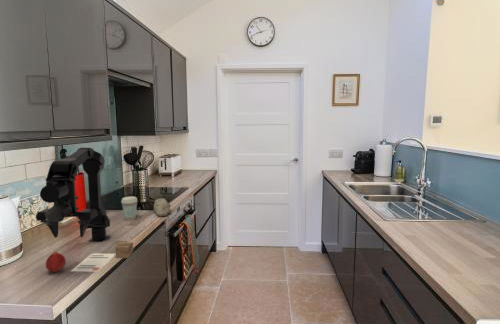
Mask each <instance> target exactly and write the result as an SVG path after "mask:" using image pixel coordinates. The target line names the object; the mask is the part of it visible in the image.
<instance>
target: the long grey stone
mask: <svg viewBox="0 0 500 324" xmlns="http://www.w3.org/2000/svg"><path fill="white" fill-rule="evenodd" d="M153 211H154V213H155V215H156V216H158V217H166V216H168V215H170V212H171V203H168V200H167V199H166V198H161V197H160V198H157V199H155V200H154V203H153Z"/></svg>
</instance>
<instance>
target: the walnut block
mask: <svg viewBox="0 0 500 324" xmlns="http://www.w3.org/2000/svg"><path fill="white" fill-rule="evenodd" d="M114 252H115V253H114V254H116V255H115V259H129V258H130V257H131V256H132V255H133V254H134V242H133V241H121V242H119V243H117V245H116V246H115V251H114Z"/></svg>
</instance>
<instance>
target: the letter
mask: <svg viewBox="0 0 500 324" xmlns="http://www.w3.org/2000/svg"><path fill="white" fill-rule="evenodd" d="M114 257H116V253H91V254H89V255H88V256H87V257H86V258H85V259H83V260H82V261H81V262H80V263H79V264H77V265H75V267H73V268H72V269H71V270H70V272H83V273H85V272H91V273H92V272H94V273H96V272H99V271H100V270H101V269H102V268H104V267H105V266H106V265H107V264H108V262H110V261H111V260H112V259H113V258H114Z"/></svg>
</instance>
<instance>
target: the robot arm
mask: <svg viewBox="0 0 500 324" xmlns="http://www.w3.org/2000/svg"><path fill="white" fill-rule="evenodd" d="M104 165H105V157H104V156H103V155H102V153H100V152H98V151H96V150H94V149H93V148H92V147H80V148H78V149H77V150H76V151H75V152H73V153H72V154H70V155H69V156H68V157H66V158H59V159H56V160H53V161H52V162H51V164H50V166H49V169H48V171H47V175H46V178H45V186H43V187H42V188H41V189H40V192H39V195H40V198H41V200H42V201H43V202H45V203H48V204H52V203H53V206H51V207H50V208H45V209H43V210H40V211H38V212H36V214H35V221H37V222H38V221H39V222H40V223H41V224H45V225H46V226H47V227H48V228H49V230H50V232H51V234H52V235H53V237H54V238H58V236H59V223H60V222H61V223H62V221H64V219H65V218H77V219H78V221H77V223H78V224H79V236H80V238H82V239H83V238H84V236H85V234H86V231H87V229H91V238H90V239H89V240H88V242H93V243H95V242H99V243H100V242H104V241H106V240H107V239H108V238H110V235H107V228H108V227H111V219H110V217H109V216H108V215H107V211H106V208H105V207H104V206H103V204H102V191H101V190H102V189H101V186H102V185H101V172H103V170H104ZM80 166H82V170H83V171H84V172H85V174H86V175H87V182H88V183H87V185H88V186H87V187H88V199H89V200H88V203H89V204H88V205H89V208H84V209H83V210H81V211H79V209H80V208H79V206H77V200H78V199H79V197H78V195H76V182H77V178H76V176H77V174H78V172H79V167H80ZM75 181H76V182H75Z"/></svg>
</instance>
